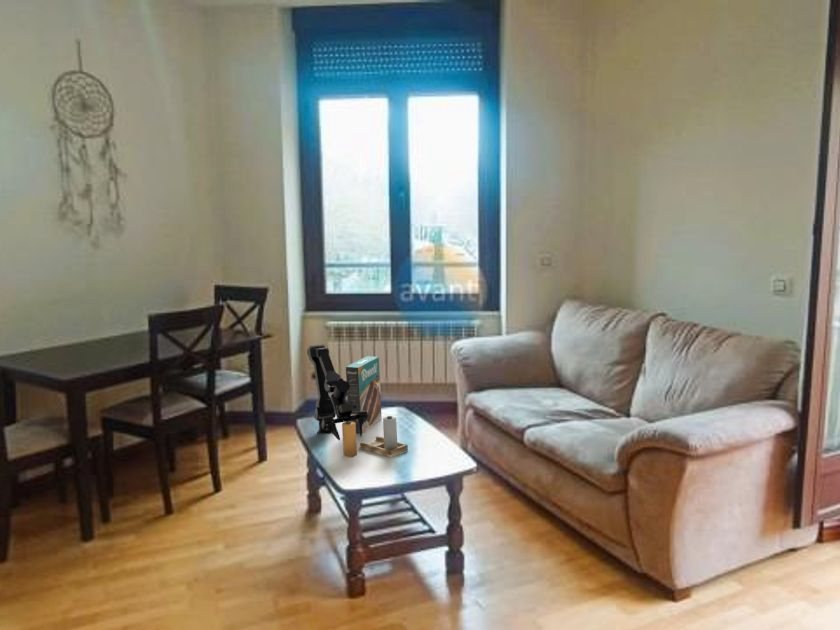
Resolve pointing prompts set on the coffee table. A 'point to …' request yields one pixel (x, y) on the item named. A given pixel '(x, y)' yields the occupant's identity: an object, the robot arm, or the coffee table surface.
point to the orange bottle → (349, 439)
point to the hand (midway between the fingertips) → (350, 438)
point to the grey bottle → (390, 432)
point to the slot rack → (378, 447)
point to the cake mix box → (365, 389)
